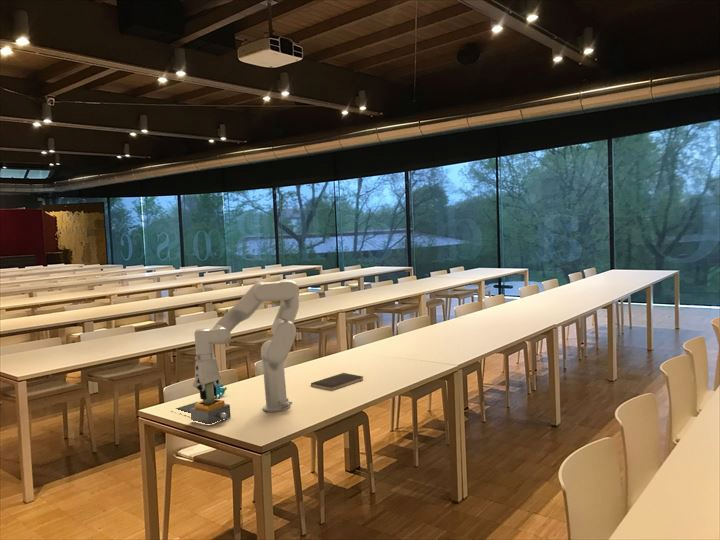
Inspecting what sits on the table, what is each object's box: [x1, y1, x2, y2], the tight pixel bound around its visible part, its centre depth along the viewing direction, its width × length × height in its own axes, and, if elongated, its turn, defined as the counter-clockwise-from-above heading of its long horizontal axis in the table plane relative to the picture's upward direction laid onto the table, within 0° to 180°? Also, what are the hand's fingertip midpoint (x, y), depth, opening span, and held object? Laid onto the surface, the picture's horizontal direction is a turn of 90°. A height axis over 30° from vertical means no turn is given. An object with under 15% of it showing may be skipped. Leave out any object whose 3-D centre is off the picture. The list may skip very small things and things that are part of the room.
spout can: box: [202, 382, 215, 405], centre depth 254 cm, size 5×5×11 cm
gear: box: [214, 381, 228, 399], centre depth 292 cm, size 11×6×10 cm
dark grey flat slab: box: [175, 401, 200, 413], centre depth 271 cm, size 20×2×15 cm
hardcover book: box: [310, 372, 364, 391], centre depth 301 cm, size 16×23×2 cm
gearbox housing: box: [190, 398, 232, 424], centre depth 253 cm, size 16×12×8 cm
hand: (208, 397), depth 254 cm, fingers closed on spout can, 5 cm apart
